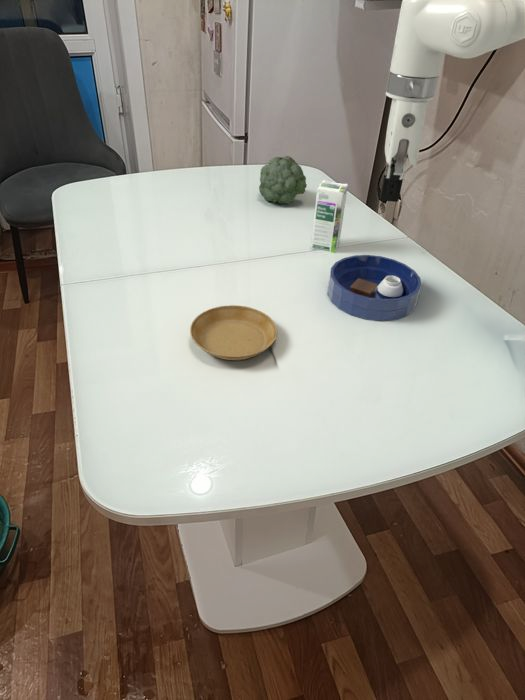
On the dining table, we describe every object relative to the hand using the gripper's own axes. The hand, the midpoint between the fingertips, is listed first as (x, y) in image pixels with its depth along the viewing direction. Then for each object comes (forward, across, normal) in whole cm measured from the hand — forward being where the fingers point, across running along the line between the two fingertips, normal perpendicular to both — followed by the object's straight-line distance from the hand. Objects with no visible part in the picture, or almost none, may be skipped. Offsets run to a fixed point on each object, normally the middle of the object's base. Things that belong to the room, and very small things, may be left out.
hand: (388, 199), depth 91 cm
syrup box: (+19, +17, +10) cm, 28 cm away
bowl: (+19, -3, 0) cm, 19 cm away
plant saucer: (+19, -22, +24) cm, 38 cm away
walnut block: (+18, -6, +2) cm, 20 cm away
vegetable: (+19, +43, +23) cm, 52 cm away
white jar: (+19, -1, -4) cm, 19 cm away
